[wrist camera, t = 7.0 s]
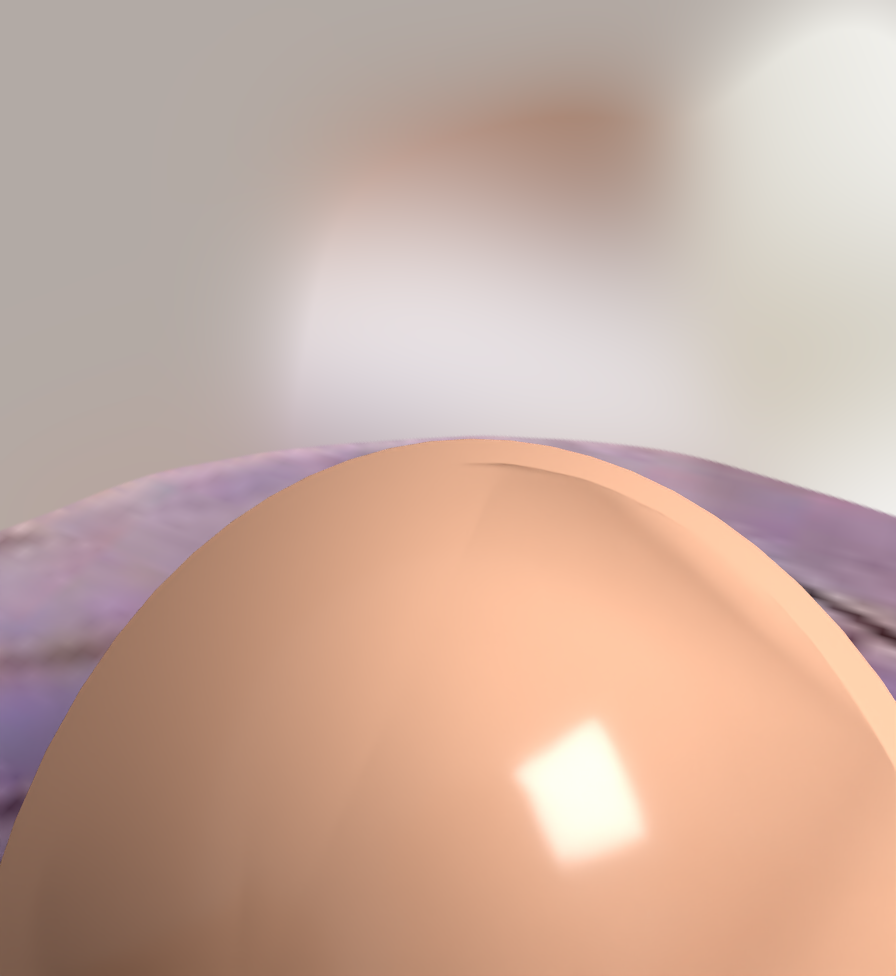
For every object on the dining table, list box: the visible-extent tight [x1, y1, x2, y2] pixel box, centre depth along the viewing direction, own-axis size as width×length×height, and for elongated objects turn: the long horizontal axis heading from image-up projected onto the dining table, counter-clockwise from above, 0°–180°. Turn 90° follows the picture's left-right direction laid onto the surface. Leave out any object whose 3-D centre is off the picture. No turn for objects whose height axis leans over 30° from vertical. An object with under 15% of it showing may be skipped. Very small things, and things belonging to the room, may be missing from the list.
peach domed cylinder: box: [0, 439, 896, 976], centre depth 8 cm, size 7×7×12 cm
